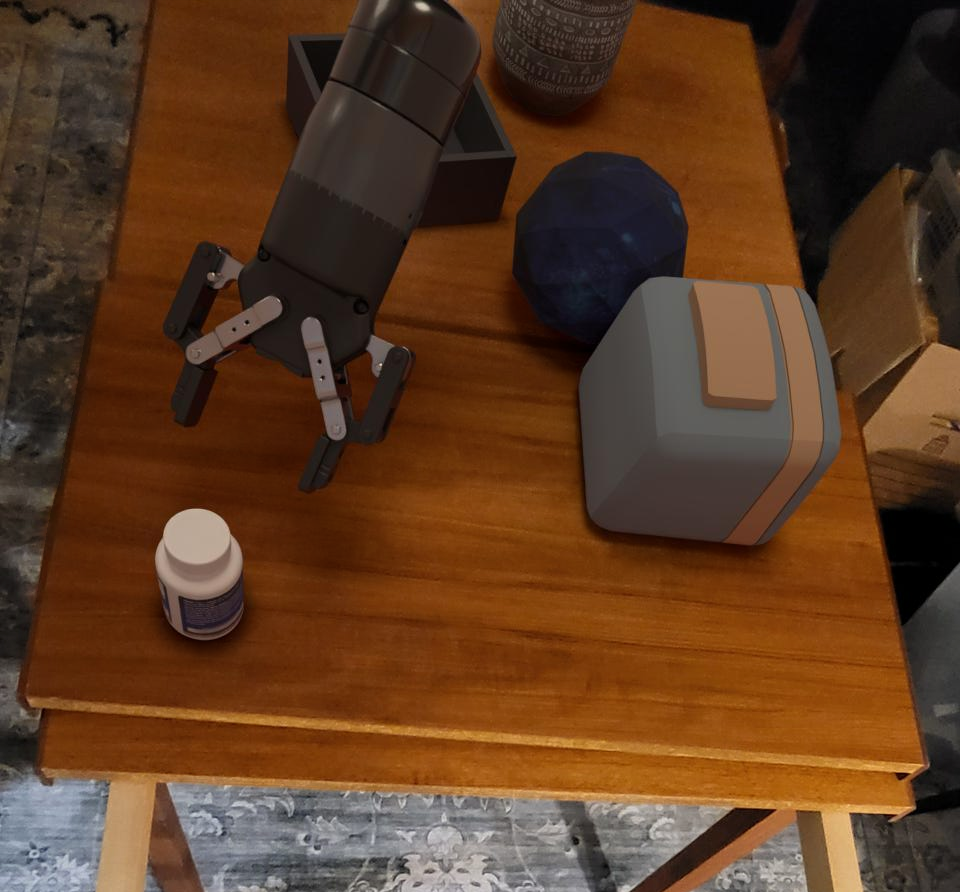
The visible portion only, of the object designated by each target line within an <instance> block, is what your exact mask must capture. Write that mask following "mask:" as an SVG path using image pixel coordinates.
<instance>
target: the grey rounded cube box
mask: <svg viewBox="0 0 960 892" xmlns="http://www.w3.org/2000/svg"><path fill="white" fill-rule="evenodd" d="M833 370H834V369H833V363H832V360H831V356H830V352H829V348H828V345H827V341H826V337H825V333H824V329H823V326H822V324H821V320H820V316H819V314H818V310H817V307H816V304H815V303H814V301H813V300H812V298H811V296H810V295H809V294H808V293H807V292H806V290H804V289H802V288H799V287H797V286H792V285H783V284H770V283H769V284H768V283H755V282H743V281H730V280H715V279H702V278H687V277H683V278H677V277H655V278H649V279H648V280H646V281H645V282H644V283H642V284H641V285H640V286H639V287H638V288H637V289H636V290H635V291H634V292H633V293H632V295H631V296H630V298H629V299H628V301H627V302H626V304H625V305H624V307H623V308H622V310H621V311H620V313H619V314H618V316H617V318H616V319H615V321H614V322H613V324H612V325H611V327H610V328H609V330H608V331H607V333H606V334H605V336H604V337H603V339H602V340H601V342H600V343H598V345H597V346H596V348H595V350H594V351H593V352H592V354H591V356H590V357H589V359H588V361H587V362H586V363H585V365H584V367H583V368H582V371H581V374H580V377H579V383H578V398H579V410H580V426H581V439H582V441H581V442H582V454H583V455H582V456H583V457H582V458H583V470H584V483H585V484H584V485H585V486H584V487H585V499H586V501H585V502H586V509H587V513H588V515H589V518H590V519H591V520H592V522H593V523H594V524H595V525H597V526H598V527H599V528H602V529H604V530H607V531H609V532H618V533H627V534H637V535H647V536H654V537H655V536H656V537H666V538H676V539H684V540H685V539H686V540H695V541H702V542H703V541H705V542H714V543H724V544H733V545H742V546H757V545H764V544H765V543H767V542H768V541H770V540H772V538H773V537H775V535H776V534H777V533H778V532H779V531H780V529H782V527H783V526H784V525H785V524H786V522H787V521H788V520H789V519H790V518H791V516H792V515H793V514H794V513H795V512H796V511H797V510H798V508H800V506H801V505H802V503H803V502H804V501H805V500H806V498H808V496H809V495H810V493H811V492H812V491H813V490H814V488H815V487H816V486H817V484H818V483H819V482H820V480H821V479H822V478H823V476H825V474H826V473H827V471H828V470H829V468H830V467H831V466H832V465H833V463H834V462H835V460H836V459H837V456H838V453H839V450H840V447H841V440H842V430H841V429H842V428H841V421H840V413H839V403H838V398H837V390H836V384H835V377H834V371H833Z"/></svg>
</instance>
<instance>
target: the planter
mask: <svg viewBox="0 0 960 892" xmlns="http://www.w3.org/2000/svg"><path fill="white" fill-rule="evenodd" d="M637 1H638V0H500V2H499V6H498V9H497V13H496V14H497V15H496V17H495V22H494V26H493V30H492V31H493V32H492V41H491V42H492V48H493V52H494V57H495V60H496V63H497V68H498V71H499V73H500V77H501V79H502V82H503V84H504V87H505V89H506V91H507V92H508V93H509V96H511V97H512V99H514V101H515V102H516V103H518V104H519V105H521V106H522V107H524V108H526V109H527V110H529V111H532V112H534V113H537V114H540V115H546V116H555V117H557V116H564V115H568V114H570V113H572V112H574V111H575V110H577V109H579V108H580V107H581V106H583V105H585V103H587V102H588V101H590V100H591V99H592V98H593V97H594V96H595V95H597V94H598V93H599V92H600V91H601V90H602V89H603V88H604V87H605V86H606V85H607V83H608V82H609V80H610V78H611V76H612V73H613V70H614V67H615V65H616V62H617V60H618V57H619V54H620V51H621V47H622V44H623V41H624V38H625V36H626V34H627V31H628V28H629V25H630V22H631V19H632V17H633V14H634V12H635V8H636V6H637Z"/></svg>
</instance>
